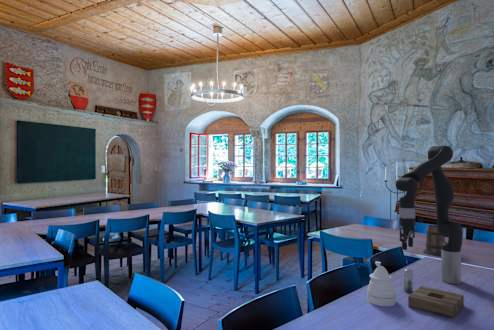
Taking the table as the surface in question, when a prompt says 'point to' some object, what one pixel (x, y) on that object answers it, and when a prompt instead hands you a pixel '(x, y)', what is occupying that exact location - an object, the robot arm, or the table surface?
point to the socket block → (436, 301)
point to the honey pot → (381, 287)
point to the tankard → (433, 241)
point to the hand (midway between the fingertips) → (407, 248)
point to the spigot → (408, 281)
